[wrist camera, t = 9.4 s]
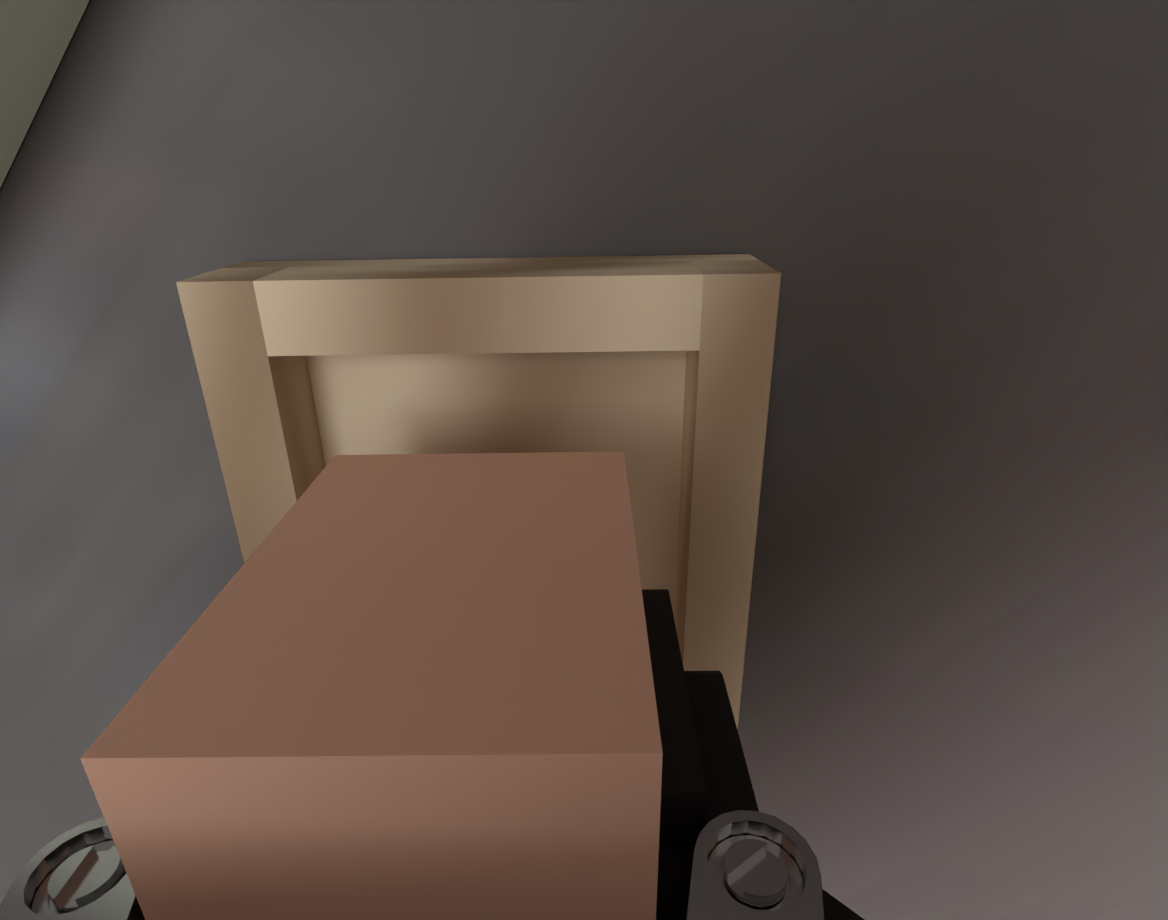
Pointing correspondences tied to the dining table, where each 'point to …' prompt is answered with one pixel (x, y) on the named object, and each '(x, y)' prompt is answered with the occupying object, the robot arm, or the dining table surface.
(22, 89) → the pale green bar
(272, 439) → the keyed cradle
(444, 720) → the block
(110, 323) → the dining table surface
